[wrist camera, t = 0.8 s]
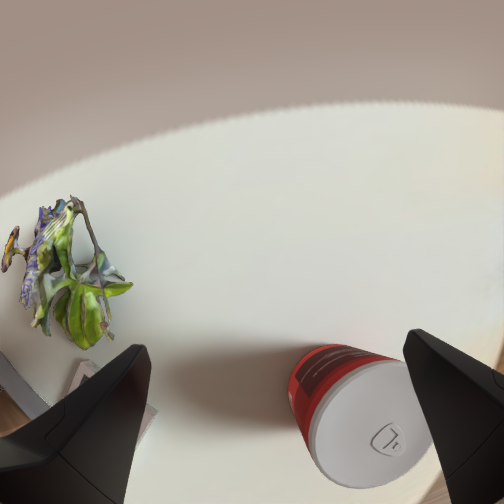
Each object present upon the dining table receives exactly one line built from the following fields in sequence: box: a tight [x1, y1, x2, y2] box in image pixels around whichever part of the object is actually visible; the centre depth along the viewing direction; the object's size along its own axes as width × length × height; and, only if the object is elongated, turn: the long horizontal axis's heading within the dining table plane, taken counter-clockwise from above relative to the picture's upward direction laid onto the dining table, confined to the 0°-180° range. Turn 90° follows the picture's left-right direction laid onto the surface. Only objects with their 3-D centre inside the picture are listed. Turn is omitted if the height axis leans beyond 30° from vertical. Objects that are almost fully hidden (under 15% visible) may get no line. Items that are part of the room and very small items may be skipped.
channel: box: [0, 351, 50, 420], centre depth 19 cm, size 11×11×3 cm
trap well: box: [66, 360, 158, 450], centre depth 21 cm, size 8×8×2 cm
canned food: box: [288, 344, 433, 489], centre depth 17 cm, size 8×8×11 cm
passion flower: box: [1, 195, 133, 350], centre depth 21 cm, size 11×11×12 cm
